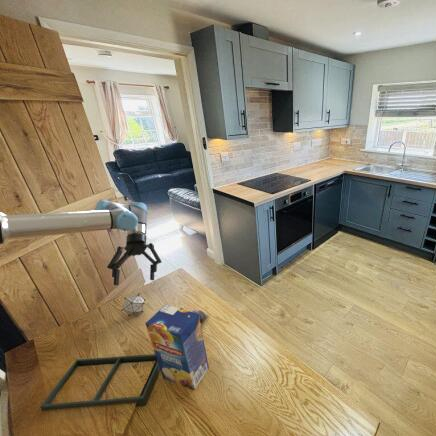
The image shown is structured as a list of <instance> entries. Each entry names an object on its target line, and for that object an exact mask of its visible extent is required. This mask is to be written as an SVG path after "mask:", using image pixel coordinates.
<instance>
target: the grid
mask: <svg viewBox="0 0 436 436" xmlns="http://www.w3.org/2000/svg"><path fill="white" fill-rule="evenodd" d="M145 362H147V363H148V362H154V363H153V366H152V368H151V370H150V372H149V374H148V377H147V379H146V380H145V384H144V385H143V387H142V390H141V392H140V394H139V396H129V397H120V398H119V397H118V398H117V397H116V398H104V399H101V397H102V396H103V394H104V392H105V391H106V389H107V387H108V385H109V384H110V382H111V381H112V379H113V377H114V376H115V374H116V373H117V370H118V368H119V367H120V365H121V364H131V363H133V364H134V363H145ZM103 365H104V366H105V365H113V366H112V368H111V369H110V371H109V372H108V374H107V376H106V378H105V379H104V381H103V382H102V384H101V386H100V388H98V391H96V394H95V396H94V398H93V399H92V400H81V401H69V402H56V403H52V401H53V400H54V399H55V397H56V396H57V394H58V393H59V392H60V391H61V389H63V387H64V385H65V384H66V383H67V382H68V380H69V379H70V377H71V376H72V375H73V373H74V372H75V371H76V369H78V367H90V366H103ZM160 374H161V370H160V367H159V364H158V361H157V358H156V355H155V353H150V354H137V355H136V354H135V355H123V356H122V355H121V356H107V357H94V358H79V359H75V361H74V363H72V365H70V367H69V369H68V370H67V371H66V372H65V374H64V375H63V377H62V378H61V379H60V381H58V383H57V384H56V385H55V386H54V388H53V389H52V391H51V392H50V393H49V394H48V395H47V397H46V398H45V400H44V401H43V402H42V403H41V405H40V406H39V408H40V409H41V411H42V412H43V411H53V410H67V409H77V408H79V409H80V408H89V407H90V408H91V407H103V406H112V405H113V406H114V405H124V404H134V408H136V407H146V406H147V405H148V402H149V400H150V397H151V394H152V393H153V391H154V388H155V385H156V383H157V380H158V379H159V375H160Z"/></svg>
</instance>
